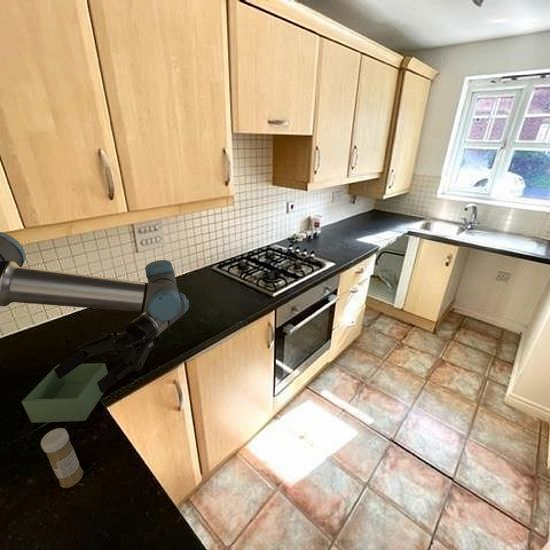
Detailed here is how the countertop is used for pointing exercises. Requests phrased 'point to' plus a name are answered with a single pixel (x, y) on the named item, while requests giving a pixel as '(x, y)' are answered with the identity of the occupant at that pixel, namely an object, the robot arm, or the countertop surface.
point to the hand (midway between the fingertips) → (77, 380)
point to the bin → (66, 395)
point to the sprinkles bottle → (62, 457)
